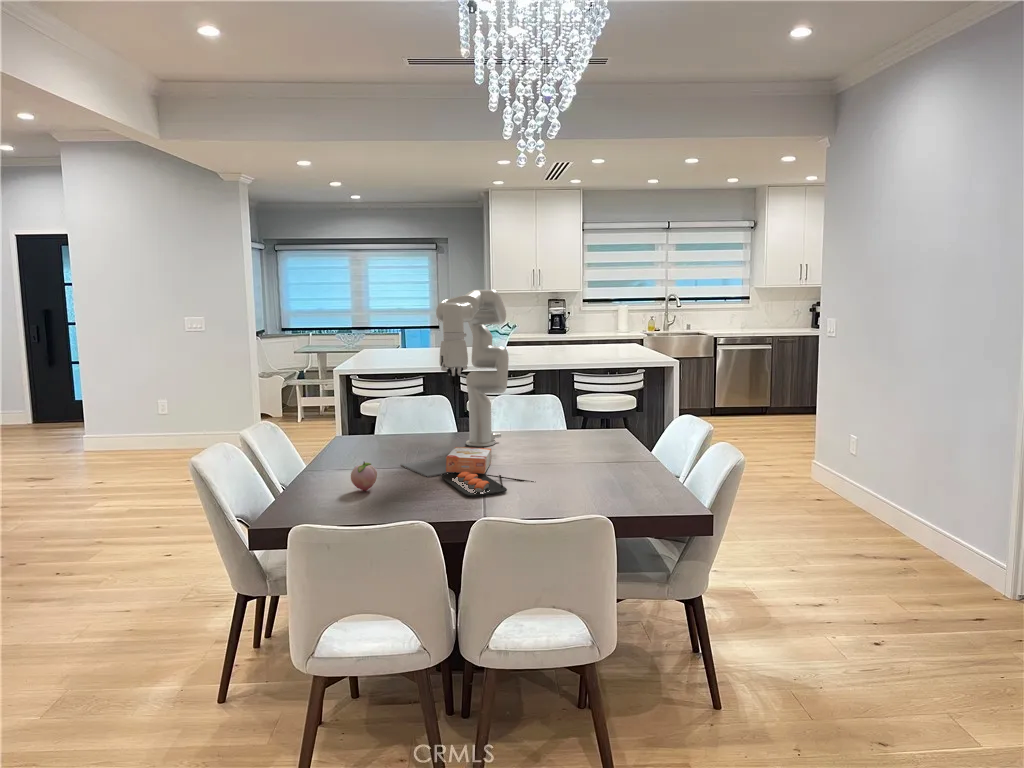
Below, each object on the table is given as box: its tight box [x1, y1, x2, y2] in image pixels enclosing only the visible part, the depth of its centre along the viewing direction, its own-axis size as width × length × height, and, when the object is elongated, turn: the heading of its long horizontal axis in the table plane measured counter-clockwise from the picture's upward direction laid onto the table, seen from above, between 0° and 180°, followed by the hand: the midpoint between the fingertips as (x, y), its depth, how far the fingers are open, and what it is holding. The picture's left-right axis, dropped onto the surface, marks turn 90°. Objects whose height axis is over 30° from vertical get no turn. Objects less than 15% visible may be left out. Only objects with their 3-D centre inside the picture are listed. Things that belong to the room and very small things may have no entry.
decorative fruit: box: [350, 461, 378, 492], centre depth 230 cm, size 9×8×10 cm
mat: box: [400, 456, 453, 478], centre depth 262 cm, size 22×22×1 cm
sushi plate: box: [441, 472, 535, 497], centre depth 239 cm, size 29×30×4 cm
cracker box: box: [445, 446, 492, 474], centre depth 257 cm, size 14×6×21 cm
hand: (454, 385), depth 263 cm, fingers closed
